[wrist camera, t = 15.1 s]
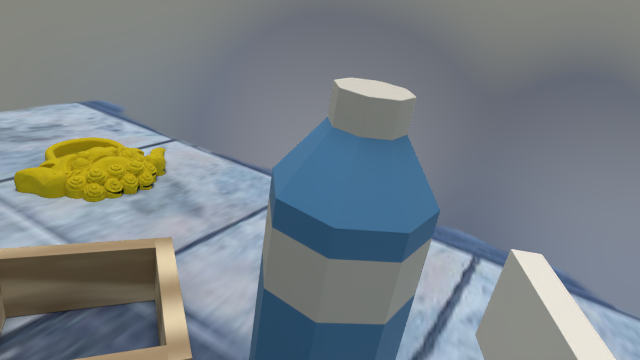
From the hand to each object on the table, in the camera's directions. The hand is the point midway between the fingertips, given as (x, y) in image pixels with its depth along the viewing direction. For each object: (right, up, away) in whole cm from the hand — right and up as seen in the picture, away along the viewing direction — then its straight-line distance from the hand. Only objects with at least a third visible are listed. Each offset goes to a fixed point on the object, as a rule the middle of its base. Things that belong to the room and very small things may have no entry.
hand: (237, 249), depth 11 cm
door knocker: (-30, +2, +54) cm, 62 cm away
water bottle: (+1, -16, +21) cm, 27 cm away
